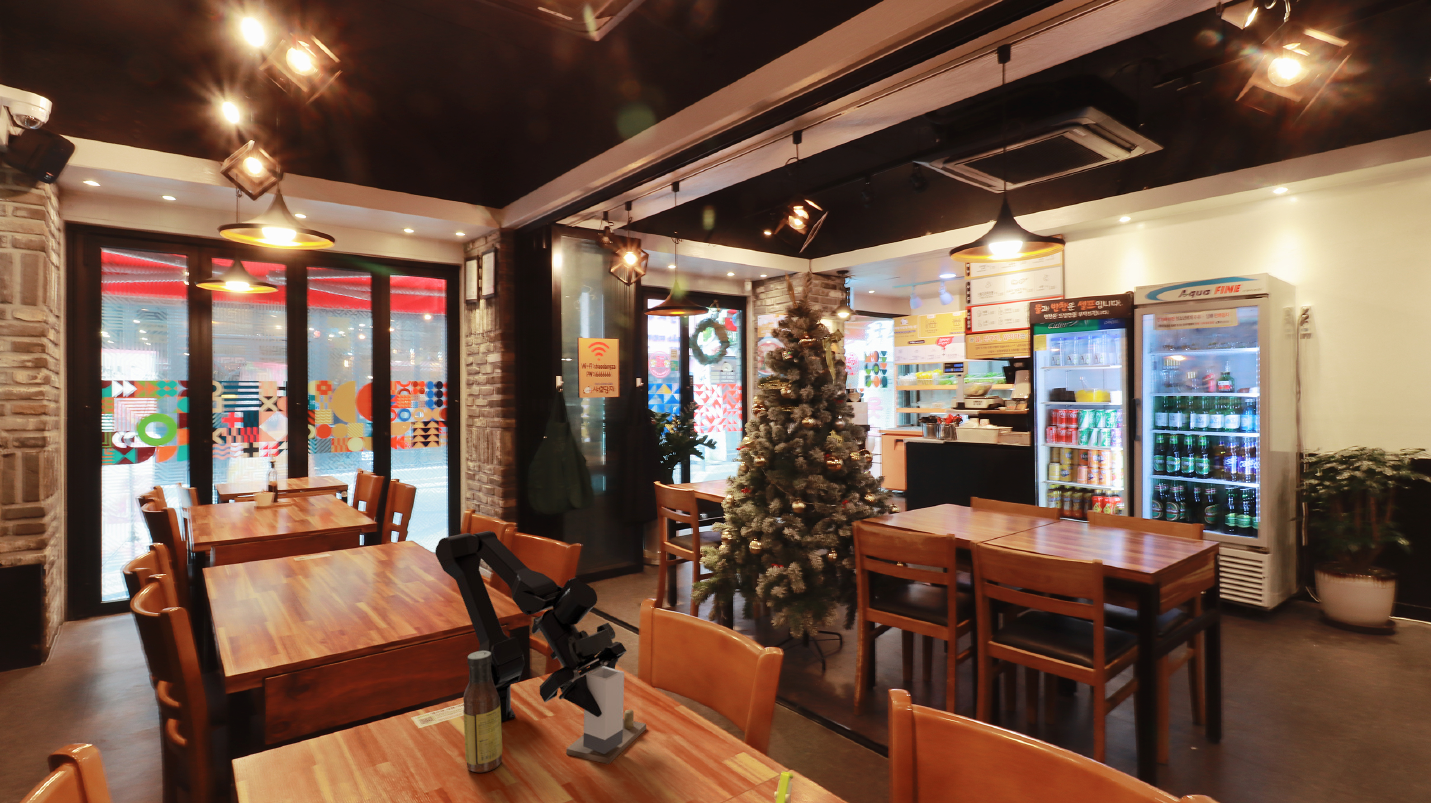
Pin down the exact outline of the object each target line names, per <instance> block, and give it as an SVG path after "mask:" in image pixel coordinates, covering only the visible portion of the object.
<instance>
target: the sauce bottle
mask: <svg viewBox="0 0 1431 803" xmlns="http://www.w3.org/2000/svg"><path fill="white" fill-rule="evenodd" d="M491 661H492V655H491V653H490V652H488V651H479V650H478V651H474V652H471V653H470V654H468V655H467V665H468V669H469V670H468V671H469V672H468V674H469V677H468V684H467V686H466V687H465V689H464V693H463V699H462V700H463V729H464V751H465V752H464V753H465V754H464V755H465V756H464V757H465V762H466V768H467V769H468V770H469V771H470V772H472V773H473V772H474V773H478V774H481V773H487V772H491V771H493V770H495V769H497V767H499V766H500V765H501V763H502V760H503V756H502V755H503V738H502V736H503V734H502V733H503V732H502V721H501V711H500V698H499V695H498V692H497V690H496V687H495V685H494V682H493V679H492V674H491ZM469 771H468V772H469Z"/></svg>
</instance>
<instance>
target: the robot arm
mask: <svg viewBox="0 0 1431 803" xmlns="http://www.w3.org/2000/svg"><path fill="white" fill-rule="evenodd" d="M435 556H436V558H437V560H438V562H439V565H440V566H441V568H442V570H443V571H444V572H445V573H446V574H447V575H449V577H451V578H453V580H455V582H456V584H457V588H458V590H459V592H460V593H459V594H460V595H461V598H462V601H463V603H464V606H465V608H466V612H467V613H468V617H469V619H470V622H471V624H472V627H473V630H474V632H475V636H476V638H477V640H478V643H479V644H478V645H479V648H478V651H488V652H490V653H491V655H492V661H491V674H492V679H493V682H494V685H495V687H496V690H497V692H498V695H499V698H500V711H501V722H504V721H509V720H513V719H516V713H515V711H514V710H513V708H512V704H511V703H512V699H511V698H512V696H511V694H512V692H511V690H512V688H511V685H513V684H514V683H518V682H519V681H520V680H521V678H522V677H521V676H522V674H523V670H524V666H525V658H524V656H525V653H524V651H523V650H522V648H521V646H520V641H519V639H518V638H517V637H516V636H513V637H509V636H508V635H507V634H505V632H504V631H503V628H502V625H501V623H500V620H499V618H498V615H497V612H496V609H495V607H494V605H493V602H492V599H491V597H490V594H489V592H488V589H487V586H486V584H485V582H484V580H483V577H482V574H481V570H480V566H481V560H482V561H483V562H484V563H485V564H486V565H487V566H488V567H489V568H490V569H491V571H493V572H494V573H495V574H496V575H497V576H498V577H499V578H500V579H501V580H502V581H503V582H504V583H505V584H506V585H507V586H508V588H510V591H511V599H512V600H513V602H514V603H515V604H516V606H517V607H518V609H519V610H520V611H521V612H522V613H523V614H524V615H526V616H532V615H535V614H538V613H541V612H543V611H544V613H543V614H541V615H539V616H537V617H535V618H533V624H532V627H531V633H532V635H533V634H536V633H539V632H541V634H542V635H543V637H544V638H545V640H546V641H547V642H546V643H548V645H549V647H550V648H551V650H552V652H551V654H550V657H551V659H552V660H555V659H557V660H558V661H559V663H560V664H561V666H562V668H559V669H557V670H555V671H553V672H551V674H550V675H549V676H548V677H547V678H546V679H545V680H544V681H543V682H542V683H541V684H540V686H539V695H540V697H541V699H542V700H543V702H544V703H547V702H549V701H551V700H553V699H555V698H556V697H557V696H558V691H559V689H560V692H561V694H560V695H559V696H558V699H559V700H563V699H564V700H566V701H568V702H569V703H571V704H574V705H576V706H578V707H579V708H581V709H583V710H586V711H588V712H589V713H591V714H593V715H595V716H596V717H599V716H600V715H601V714H602V712H601V710H600V708H599V706H598V704H597V702H596V701H595V699H594V697H593V695H592V694H591V692H590V690H589V689H588V687H587V678H586V675H585V674H587V673H590V672H592V671H594V670H596V669H598V668H600V667H602V666H605V667H608V668H612V669H616V664H617V663H618V662H619V659H620V658H622V657H623V655H625V654H626V653H627V649H626V648H625V645H623V643H622V642H620V641H614V642H613V640H614V639H615V638H616V631H615V629H614V628H613V626H611V624H610V622H606V623H605V622H604V624H603V623H602V624H601V625H598V626H597V627H596V632H595V633H592V634H590V635H589V634H588V633H587V631H586V630H581V631H579V629H578V627H577V626H576V625H577V624H579V623H580V622H581V621H582V620H583V619H584V618H585V617H586V616H587V615H588V614H589V612H590V611H591V610H592V609H593V608H594V607H595V606H596V604H597V602H598V595H597V592H596V590H595V588H593V587H591V586H590V585H588V584H587V583H585V582H581V581H580V580H579V579H578V578H577V577H573V578H569V579H568V580H566V582H565V584H564V585H563V586H561V585H559V584H557V583H556V581H555V580H553V579H552V578H550V577H549V576H547V575H546V574H544V573H543V572H538V571H535V570H532V569H530V568H529V567H527V565H526V564H525V563H524V562H522V560H520V559H519V557H518V556H516V555H515V554H514V553H513V552H512V551H511V550H510V549H509V548H508V547H507V546H506V545H505V544H504V543H503V542H502V541H501V540H500V539H499V538H498V535H497V534H496V532H494V531H491V530H486V531H481V532H475V533H473V534H472V533H470V532H469V533H468V532H465V533H461V534H456V535H451V536H446V537H442V538H441V539H440V540H439V541H438V544H437V545H436V547H435Z"/></svg>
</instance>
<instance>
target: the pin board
mask: <svg viewBox="0 0 1431 803" xmlns="http://www.w3.org/2000/svg"><path fill="white" fill-rule="evenodd" d="M645 730H647V723H645V722H640V721H635V720H634V710H633V709H625V711H624V710H623V740H622V743H621V744H620V745H618V746H617V747H615V748H613V749H612V750H610V751H609V752H607V753H606V754H603V753H600V752H597V751H595V750H592V749H589V748H587V747H584V746H583V740H584V734H582V735H581V736H580V737H579V738H577V739H576V740H575V741H574V742H573V743H572V744H570V745H569V746H568V747H566V748H565V749H566V752H565V753H566V755H569V756H573V757H577V758H581V759H586V760H590V761H594V762H598V763H602V764H607V765H610V764H611V763H612V762H613V761H614V760H616V758H617V757H618V756H619V755H620V754H621V753H623V751H624V750H626V749H627V748H628V747H629V746H630V745H631V744H632V743H633V742H635V740H636V739H637V738H639V737H640V735H641V734H643V732H644V731H645Z"/></svg>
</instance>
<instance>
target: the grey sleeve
mask: <svg viewBox="0 0 1431 803" xmlns="http://www.w3.org/2000/svg"><path fill="white" fill-rule="evenodd" d="M585 675H586V678H587V687H588V689H589V690H590V692H591V694H592V695H593V697H594V699H595V701H596V702H597V704H598V706H599V708H600V710H601V712H602V714H601V715H600V716H599V717H596V716H595V715H593V714H591V713H589V712H588V711H586V710H584V709H583V710H584V711H583V735H584V740H583V746H584V747H587V748H589V749H592V750H595V751H597V752H600V753H603V754H606V753H607V752H609V751H610V750H612V749H613V748H615V747H617V746H618V745H620V744H621V743H622V740H623V719H624V696H625V694H624V692H625V688H624V687H625V671H623V670H619V669H617V668H615V669H612V668H608V667H605V666H602V667H600V668H598V669H596V670H594V671H591V672H589V673H587V674H585Z"/></svg>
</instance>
